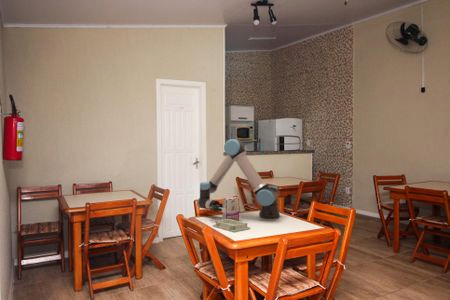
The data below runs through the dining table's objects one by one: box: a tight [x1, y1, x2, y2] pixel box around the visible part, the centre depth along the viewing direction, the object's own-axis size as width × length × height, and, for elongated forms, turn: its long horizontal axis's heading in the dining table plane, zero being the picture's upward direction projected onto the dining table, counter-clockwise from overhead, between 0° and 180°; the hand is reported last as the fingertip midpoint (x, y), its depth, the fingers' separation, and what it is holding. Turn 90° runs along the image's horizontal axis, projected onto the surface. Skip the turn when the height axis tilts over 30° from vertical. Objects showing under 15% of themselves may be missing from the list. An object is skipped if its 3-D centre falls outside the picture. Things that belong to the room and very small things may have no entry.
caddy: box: [212, 219, 251, 233], centre depth 224 cm, size 14×20×4 cm
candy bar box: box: [222, 196, 240, 221], centre depth 240 cm, size 11×5×16 cm, turn 126°
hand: (232, 209), depth 238 cm, fingers open, 13 cm apart
